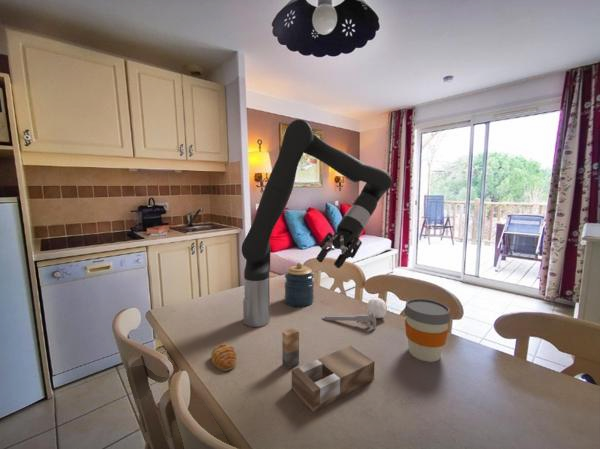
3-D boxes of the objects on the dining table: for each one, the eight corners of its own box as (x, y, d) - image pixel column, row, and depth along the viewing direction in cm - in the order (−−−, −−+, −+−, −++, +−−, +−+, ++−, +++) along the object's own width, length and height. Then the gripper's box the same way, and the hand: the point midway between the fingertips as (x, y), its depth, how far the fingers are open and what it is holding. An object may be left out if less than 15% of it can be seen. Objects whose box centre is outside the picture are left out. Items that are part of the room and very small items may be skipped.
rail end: (287, 369, 78) (287, 335, 77) (282, 364, 80) (282, 331, 79) (299, 364, 80) (299, 331, 79) (294, 359, 82) (294, 327, 81)
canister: (283, 296, 131) (283, 259, 129) (311, 295, 132) (311, 258, 130) (285, 307, 118) (285, 267, 116) (315, 306, 119) (316, 266, 117)
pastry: (242, 367, 79) (241, 355, 78) (218, 376, 75) (217, 363, 75) (231, 351, 87) (230, 340, 86) (209, 358, 83) (208, 346, 82)
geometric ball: (375, 320, 113) (379, 301, 116) (389, 322, 106) (393, 301, 109) (360, 313, 110) (365, 294, 114) (374, 314, 103) (378, 293, 107)
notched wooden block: (312, 412, 63) (313, 391, 62) (291, 388, 70) (291, 370, 70) (373, 379, 74) (374, 361, 73) (349, 361, 81) (350, 345, 81)
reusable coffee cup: (402, 360, 82) (405, 311, 80) (402, 338, 94) (404, 296, 92) (450, 369, 78) (454, 318, 76) (444, 346, 90) (447, 301, 88)
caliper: (375, 328, 101) (376, 312, 100) (375, 330, 100) (376, 313, 99) (322, 318, 109) (322, 303, 108) (321, 319, 108) (321, 304, 107)
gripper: (332, 213, 94) (306, 252, 89) (364, 216, 82) (335, 261, 77) (344, 227, 98) (319, 265, 93) (376, 231, 86) (350, 275, 81)
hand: (327, 263), depth 85 cm, fingers open, 8 cm apart
